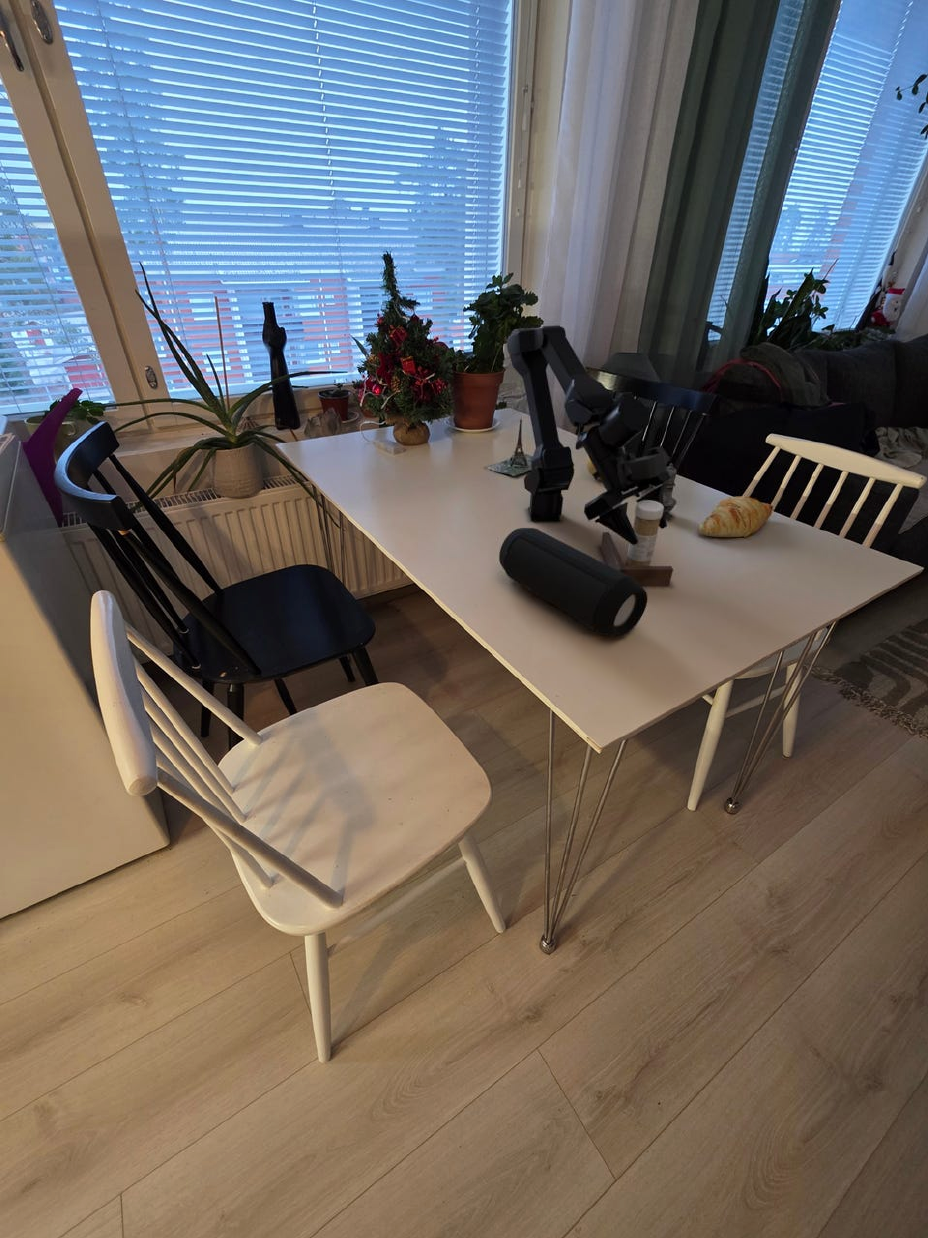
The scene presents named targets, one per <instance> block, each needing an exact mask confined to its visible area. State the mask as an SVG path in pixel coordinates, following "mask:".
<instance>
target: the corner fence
mask: <svg viewBox="0 0 928 1238" xmlns="http://www.w3.org/2000/svg"><path fill="white" fill-rule="evenodd" d="M599 548H600V551H601V553H602V555H603V557H604V560H605V563H606V565H608V566H610V567H612V568H614V569H616V570H618V571H620V572H622V573H624V574H626V575H628V576H630V577H632V578H634V579H635V580H636V581H637V582H638V583H639V584H640V585H641V586H642V587H669V586H670V582H671V579H672V575H673V572H674V568H673V567H672V566H671V565H650V566H625V565H626V564H625V563H624V560H623V559H622V556H621V553H620V552H619V550H618V547H617V546H616V544H615V543H614V540H613V538H612V535H611V534H610V532H609V531H602V535H601V541H600V545H599Z"/></svg>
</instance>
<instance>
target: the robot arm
mask: <svg viewBox="0 0 928 1238" xmlns="http://www.w3.org/2000/svg"><path fill="white" fill-rule="evenodd" d="M506 350H507V352H508V354H509V359H510V362H511V365H512V367H513V368H514V370H515V371H516V372H517V374H519V375H520V376H521V378H522V380H523V381H522V382H523V386H524V392H525V398H526V402H527V408H528V413H529V419H530V423H531V429H532V433H533V440H534V444H535V448H534V452H533V455H532V456H533V457H532V460H531V467H532V470H529V471H528V473H527V475H525V476H524V478H523V487H524V490H526V491H527V492H529V493H530V498H529V507H528V508H527V510H528V516H529V520H530V522H560V521H561V515H562V513H563V512H562V511H563V504H564V496H563V493H562V491H569V489H570V487H571V484H572V481H573V479H574V476H575V463H574V461H573V456H572V455H573V454H572V449H571V448H570V446H569V445H568V446H564V445H563V444H562V442H561V441H560V438H559V434H558V433H559V432H558V428H557V427H558V426H557V422H556V417H555V411H554V406H553V400H552V395H551V389H550V384H549V379H548V373H547V369H548V366H549V367H550V370H551V371H552V372H553V374H554V376H555V378H556V380H557V381H558V383H559V385H560V387H561V389H562V392H563V393H564V395H565V398H564V403H563V408H564V410H565V412H566V415H567V418H568V420H569V422H570V424H571V425H572V426H573V427H575V428H583V427H587V426H589V427H590V426H592V427H590V428H589V429H588V430H584V431H582V432H580V433H578V434H577V440H576V442H575V450H581V449H584V450H585V452H586V455H587V454H588V456H589V458H590V460H591V462H592V464H593V466H594V468H595V469H596V471H597V472H595V473H594V474H592V475H593V476H592V475H591V476H592V477H593V478H594V480H598V479H597V478H600V479H601V480H600V479H599V480H600V481H601V483H602V484H603V486H604V488H605V490H606V491H604V492H602V493H601V494H599V495H597V496H596V497H594V498H593V499H591V500H590V501H588V502H586V503H585V504H584V508H583V514H584V515H585V517H586V519H587V521H588V522H591V521H592V520H594V519H595V520H594V523H595V524H597V523H599V524H600V525H601V526H604V527H605V528H607V529H608V530H610V531H612V532H614V533H615V534H616V535H618V536H619V537H621V538H622V539H623V540H624V541H626V542H627V543H630V544H632V545H635V544H637V543H638V539H637V537H636V534H635V532H634V529H633V525H632V523H631V521H630V519H629V516H628V514H627V511H628V504H629V502H628V501H626V502H624V501H625V500H626V499H629V498H631V497H634V496H635V497H636V498H638V499H636V500H635V502H636V504H637V503H638V502H640V501H643V500H652V501H656V502H659V503H661V504H662V505H663V506H664V502H663V494H664V492H665V489H666V487H667V486H668V484H669V483H666V484H664V485H662V484H663V483H665V482H666V481H668V480H670V479H671V477H670V475H669V473H668V471H667V468H666V467H667V464H668V463H669V461H671V457H670V456H669V455H668V452H667V451H666V450H665V448H664V447H663V445H659V446H655V447H652V448H650V449H648V452H647V455H644V456H641V457H638V458H637V457H636V455H635V453H634V452H632V451H630V452H626V450H625V449H623V447H622V446H624V447H625V446H626V445H627V444H628V443H629V442H631V441H632V440H633V439H635V438H636V437H637V436H638V435H639V434H641V433H642V432H643V431H644V430H645V429H646V428H648V426H649V424H650V422H651V414H650V411H649V408H647V407H646V405H645V404H644V403H643V402H642V401H640V400H639V399H636V398H635V397H634V395H633V392H632V391H629V392H622V393H620V394H619V395H618V396H617V398H616V399H615V398H614V397H613V395H612V393H611V392H610V391H609V390H608V388H607V387H605V385H604V384H603V383H602V382H600V381H599V380H596V379H594V378H593V377H591V376H590V375H589V373H588V372H587V370H586V368H585V367H584V365H583V363H582V362H581V360H580V358H579V357H578V355H577V353H576V352H575V350H574V348H573V346H572V345H571V343H570V341H569V339H568V338H567V334H566V329H565V328H564V327H563V326H561V325H558V324H555V325H542V326H540V327H530V328H515V329H513V330H512V332H511V333H510V335H509V336H508V338H507V342H506ZM624 450H625V451H624ZM622 502H624V503H622ZM667 527H668V523H667V520H666V515H665V509H663V514H662V517H661V520H660V523H659V527H658V528H659V529H661V530H663V529H665V528H667Z"/></svg>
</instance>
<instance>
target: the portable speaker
mask: <svg viewBox="0 0 928 1238" xmlns="http://www.w3.org/2000/svg"><path fill="white" fill-rule="evenodd" d="M498 561H499V563H500V566H501V567H502V569H503V571H504V572H505V575H507V577H508V578H510V579H511V580H513V581H514V582H516V583H517V584H519V585H521V586H523V587H524V588H525V589H527V590H529V591H530V592H532V593H533V594H535V595H537V596H539V598H541V599H543V600H545V601H547V602H548V603H550V604H552V605H553V606H555V607H556V608H558V610H561V611H563V612H564V613H565V614H567V615H569V616H570V617H572V618H574V619H575V620H577V621H579V622H580V623H581V624H583V625H585V626H587V627H588V628H590V629H591V630H593V631H595V632H597V633H598V634H600V635H602V636H603V635H604V636H608V637H614V638H620V637H624V636H626V635H627V634H629V633H630V632H631V631H632V630H633V629H634V628H635V627H636V626H637V625H638V623H639V622H640V620H641V618H642V617H643V615H644V614H645V611H646V608H647V605H648V592H647V591H646V590H645V588H644V586H641V585H640V584H639V583H638V582H637V581H636V580H635V579H634V578H632V577H630V576H628V575H626V574H624V573H622V572H620V571H618V570H616V569H614V568H612V567H610V566H608V564H607V563H604V562H602V561H600V560H598V559H596V557H595V558H594V557H593V556H591V555H589V554H587V553H585V552H583V551H581V550H579V549H577V548H575V547H573V546H571V545H570V544H567V543H565V542H563V541H561V540H559V539H557V538H555V537H553V536H552V535H549V534H548V533H545V532H544V531H542V530H540V529H538V528H535V527H519V528H516V529H514V530H512V531H511V532H510V533H509V534H508V535H507V536H506V537H505V539H504V540H503V542H502V544H501V547H500V549H499V553H498Z"/></svg>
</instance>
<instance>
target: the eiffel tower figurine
mask: <svg viewBox="0 0 928 1238" xmlns="http://www.w3.org/2000/svg"><path fill="white" fill-rule="evenodd" d="M522 423H523V420H522V418H520V419H519V428H518V438H517V442H516V446H515V449H514V451H513V454H512V455H511V457H510V458H509V459H506V460H504V461H503V460H502V461H501V462H498V463H495V464H493V465H491V466H489V467H486V470H490V471H493V472H497V473H501V474H502V473H503V474H507V475H510V476H513V477H515V476H518V475H520V474H524V473H526V472H530V471H531V470H532V467H531V460H532V457H533V455H530V454H527V453H525V452H524V450H523V444H522V443H523V442H522V440H523V439H522V429H523V428H522V426H523V425H522ZM519 449H520V451H519Z"/></svg>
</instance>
